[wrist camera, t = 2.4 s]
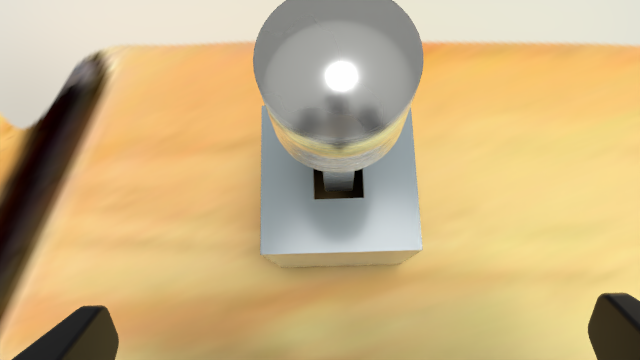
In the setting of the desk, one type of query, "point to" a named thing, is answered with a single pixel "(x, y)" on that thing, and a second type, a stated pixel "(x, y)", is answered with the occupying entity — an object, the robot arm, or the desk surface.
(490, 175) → the desk surface
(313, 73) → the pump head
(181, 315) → the desk surface
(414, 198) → the gray square socket cube
